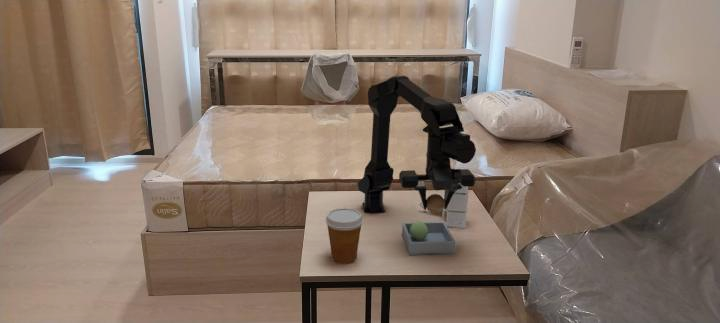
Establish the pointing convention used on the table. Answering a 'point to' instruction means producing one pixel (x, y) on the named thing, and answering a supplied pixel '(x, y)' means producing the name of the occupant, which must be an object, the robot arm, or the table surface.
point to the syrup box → (457, 209)
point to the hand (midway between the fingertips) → (434, 208)
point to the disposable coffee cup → (344, 233)
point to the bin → (430, 240)
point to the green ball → (418, 230)
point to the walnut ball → (435, 203)
